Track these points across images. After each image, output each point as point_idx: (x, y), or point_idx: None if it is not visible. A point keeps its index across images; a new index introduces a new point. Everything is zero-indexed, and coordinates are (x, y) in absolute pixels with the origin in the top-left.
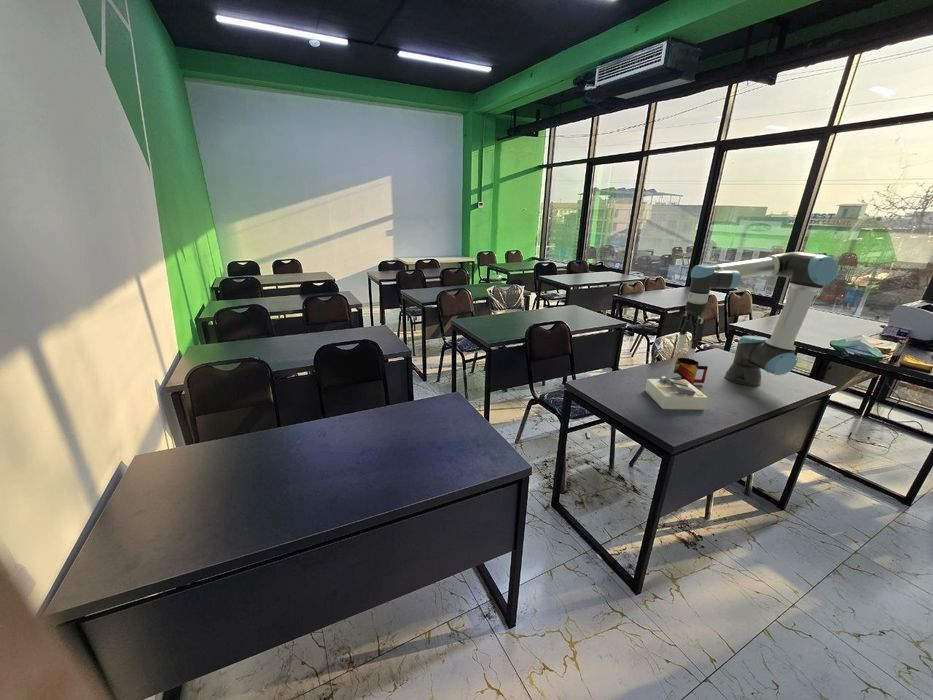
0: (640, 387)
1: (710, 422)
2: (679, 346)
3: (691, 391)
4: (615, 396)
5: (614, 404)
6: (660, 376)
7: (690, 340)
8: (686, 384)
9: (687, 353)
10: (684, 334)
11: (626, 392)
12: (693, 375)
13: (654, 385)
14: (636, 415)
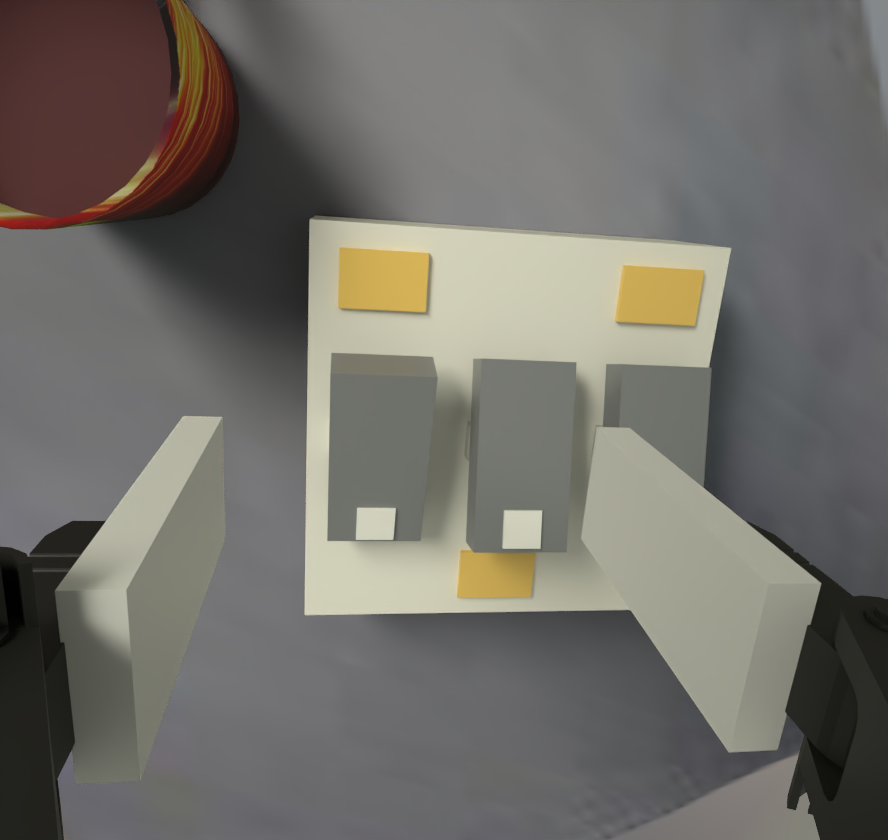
0: (250, 566)
1: (840, 318)
2: (219, 539)
3: (705, 412)
4: (413, 784)
5: (525, 817)
6: (339, 537)
7: (797, 799)
8: (548, 366)
9: (593, 549)
10: (60, 645)
11: (349, 699)
12: (203, 42)
13: (453, 610)
14: (672, 739)
